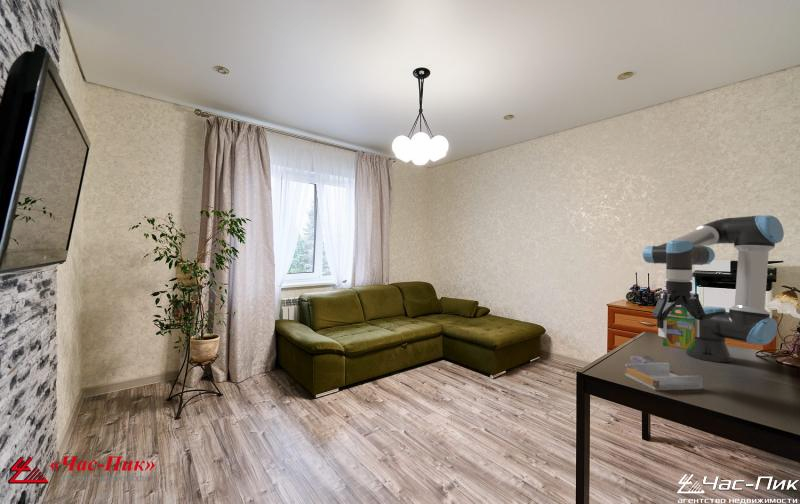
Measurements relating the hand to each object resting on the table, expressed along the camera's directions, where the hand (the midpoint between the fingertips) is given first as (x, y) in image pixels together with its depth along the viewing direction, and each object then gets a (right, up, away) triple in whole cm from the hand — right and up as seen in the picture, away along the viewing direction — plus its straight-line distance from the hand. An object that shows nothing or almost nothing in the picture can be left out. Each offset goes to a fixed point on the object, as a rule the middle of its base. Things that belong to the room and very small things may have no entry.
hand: (678, 336), depth 120 cm
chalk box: (0, -4, 0) cm, 4 cm away
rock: (-2, -17, +14) cm, 22 cm away
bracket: (-7, -17, 0) cm, 18 cm away
